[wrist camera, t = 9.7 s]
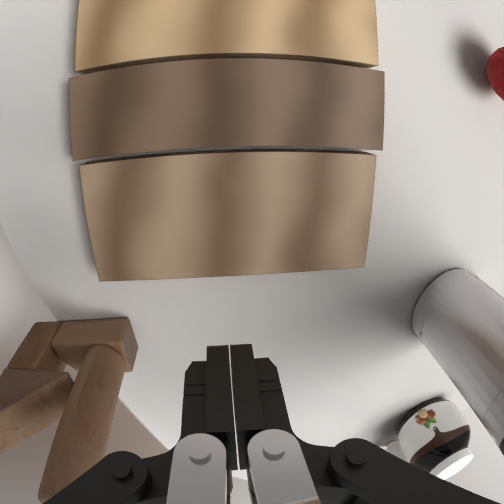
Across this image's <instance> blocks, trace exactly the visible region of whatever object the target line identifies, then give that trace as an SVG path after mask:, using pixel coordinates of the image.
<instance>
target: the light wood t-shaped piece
mask: <svg viewBox="0 0 504 504" xmlns="http://www.w3.org/2000/svg"><path fill="white" fill-rule="evenodd" d="M137 350H138V345H137V342H136V339H135V336H134V333H133V330H132V327H131V324H130V321H129V319H128V318H119V319H103V320H85V321H65V322H63V323H62V322H60V321H58V322H37V323H35V324H34V325H33V327H32V328H31V330H30V331H29V333H28V334H27V336H26V337H25V339H24V340H23V342H22V343H21V345H20V347H19V348H18V350H17V351H16V353H15V355H14V356H13V358H12V359H11V361H10V363H9V364H8V366H7V369H4V371H3V373H2V375H1V376H0V454H1V453H3V452H5V451H6V450H8V449H10V448H11V447H13V446H15V445H17V444H18V443H20V442H21V441H23V440H25V439H27V438H28V437H30V436H32V435H33V434H35V433H37V432H38V431H40V430H42V429H43V428H45V427H46V426H48V425H50V424H51V423H53V422H54V421H56V420H58V419H60V418H61V419H60V422H59V425H58V428H57V431H56V434H55V437H54V440H53V443H52V446H51V450H50V453H49V456H48V459H47V463H46V466H45V470H44V473H43V477H42V481H41V484H40V488H39V492H38V499H39V501H40V502H41V503H42V504H43V503H44V502H46V501H47V500H48V499H50V498H51V497H52V496H54V495H55V494H57V493H58V492H59V491H61V490H62V489H63V488H65V487H66V486H68V485H69V484H70V483H72V482H73V481H74V480H76V479H77V478H78V477H80V476H81V475H82V474H83V473H85V472H86V471H87V470H89V469H90V468H91V467H93V466H94V465H95V464H96V463H98V462H99V461H100V460H102V459H103V458H104V457H105V452H106V447H107V442H108V438H109V433H110V429H111V424H112V420H113V415H114V411H115V407H116V403H117V399H118V395H119V391H120V387H121V383H122V379H123V375H124V372H131V371H132V370H133V366H134V362H135V358H136V354H137ZM66 364H68V365H70V366H71V367H73V368H74V369H76V370H77V371H79V372H78V374H77V377H76V379H75V382H73V380H72V379H71V377H70V375H69V373H68V372H63V371H64V369H65V366H66Z"/></svg>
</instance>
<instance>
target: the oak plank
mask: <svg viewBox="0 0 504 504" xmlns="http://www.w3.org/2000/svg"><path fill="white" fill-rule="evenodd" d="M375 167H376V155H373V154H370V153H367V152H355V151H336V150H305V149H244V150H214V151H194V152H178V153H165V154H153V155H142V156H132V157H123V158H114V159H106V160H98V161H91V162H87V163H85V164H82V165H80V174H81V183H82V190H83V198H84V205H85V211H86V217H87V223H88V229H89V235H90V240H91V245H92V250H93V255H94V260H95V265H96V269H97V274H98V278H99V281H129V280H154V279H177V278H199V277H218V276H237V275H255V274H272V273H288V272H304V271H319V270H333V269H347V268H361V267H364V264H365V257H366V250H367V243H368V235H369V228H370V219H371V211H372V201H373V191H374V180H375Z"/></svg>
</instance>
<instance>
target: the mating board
mask: <svg viewBox="0 0 504 504" xmlns="http://www.w3.org/2000/svg"><path fill="white" fill-rule="evenodd" d="M69 114H70V132H71V146H72V158H73V161H77V160H83V159H90V158H98V157H105V156H113V155H122V154H131V153H141V152H151V151H163V150H176V149H191V148H210V147H237V146H308V147H335V148H354V149H369V150H382V151H383V131H384V72H383V71H378V70H372V69H366V68H360V67H353V66H346V65H339V64H330V63H321V62H311V61H299V60H284V59H257V58H225V59H199V60H183V61H171V62H161V63H152V64H144V65H136V66H129V67H123V68H117V69H111V70H105V71H100V72H95V73H90V74H85V75H80V76H76V77H72V78H69Z"/></svg>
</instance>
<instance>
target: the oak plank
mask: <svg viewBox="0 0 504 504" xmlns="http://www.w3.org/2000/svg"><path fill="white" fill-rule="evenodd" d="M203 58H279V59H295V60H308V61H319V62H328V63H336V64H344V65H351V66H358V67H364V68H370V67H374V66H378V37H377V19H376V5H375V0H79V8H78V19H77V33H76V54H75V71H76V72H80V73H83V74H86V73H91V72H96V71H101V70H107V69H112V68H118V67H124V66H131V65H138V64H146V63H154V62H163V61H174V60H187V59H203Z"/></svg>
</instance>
